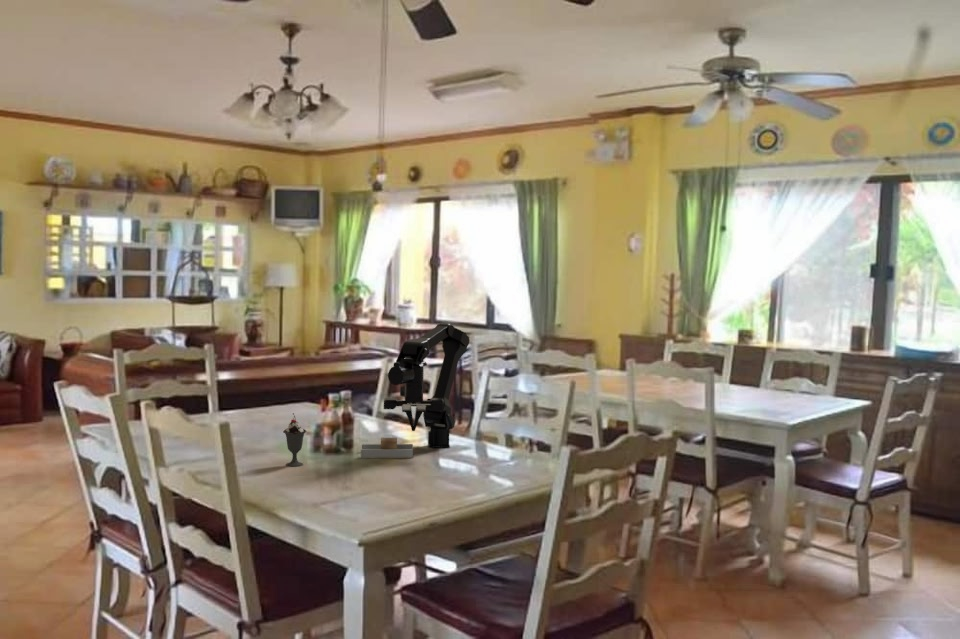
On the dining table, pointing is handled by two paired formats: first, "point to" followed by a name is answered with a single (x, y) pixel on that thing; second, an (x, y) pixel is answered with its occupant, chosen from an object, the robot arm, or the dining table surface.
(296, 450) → the sundae
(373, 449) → the channel
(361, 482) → the dining table surface
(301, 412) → the dining table surface
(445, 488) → the dining table surface
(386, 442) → the block
